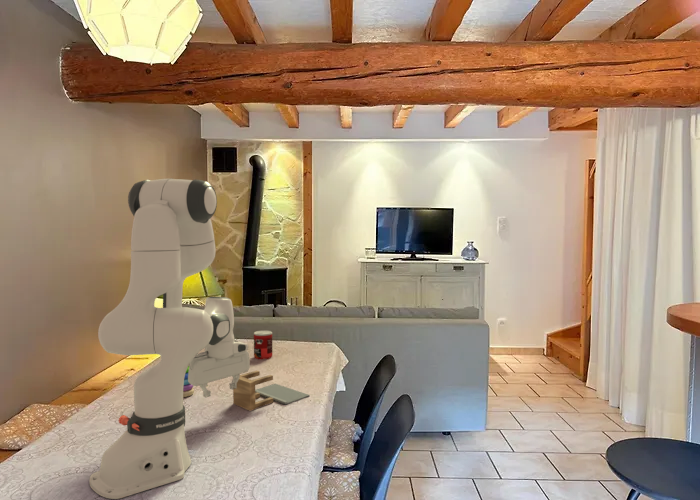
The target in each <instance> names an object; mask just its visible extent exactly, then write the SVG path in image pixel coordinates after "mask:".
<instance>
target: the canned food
mask: <svg viewBox="0 0 700 500" xmlns="http://www.w3.org/2000/svg"><path fill="white" fill-rule="evenodd" d="M253 357H254V359H255V360H269V359H271V358H272V357H273V332H272V331H271V330H257V331H254V332H253Z"/></svg>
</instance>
